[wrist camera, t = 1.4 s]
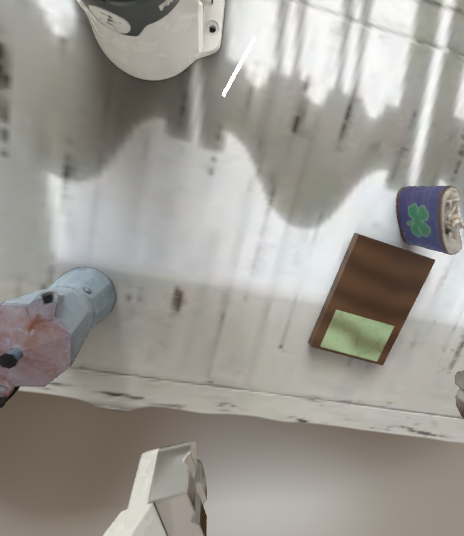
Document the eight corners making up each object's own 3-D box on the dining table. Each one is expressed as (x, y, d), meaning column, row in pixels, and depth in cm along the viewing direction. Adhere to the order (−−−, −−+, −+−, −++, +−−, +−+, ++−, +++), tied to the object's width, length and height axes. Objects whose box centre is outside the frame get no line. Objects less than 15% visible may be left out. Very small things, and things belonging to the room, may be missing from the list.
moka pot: (135, 265, 45) (81, 323, 26) (100, 347, 48) (28, 454, 29) (73, 239, 43) (-35, 280, 24) (41, 326, 46) (-77, 424, 27)
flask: (417, 241, 47) (475, 255, 37) (400, 246, 47) (453, 262, 37) (411, 184, 45) (471, 182, 35) (393, 189, 45) (448, 189, 35)
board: (354, 232, 46) (359, 234, 45) (429, 257, 48) (436, 260, 47) (307, 342, 51) (311, 347, 49) (378, 360, 53) (383, 366, 51)
